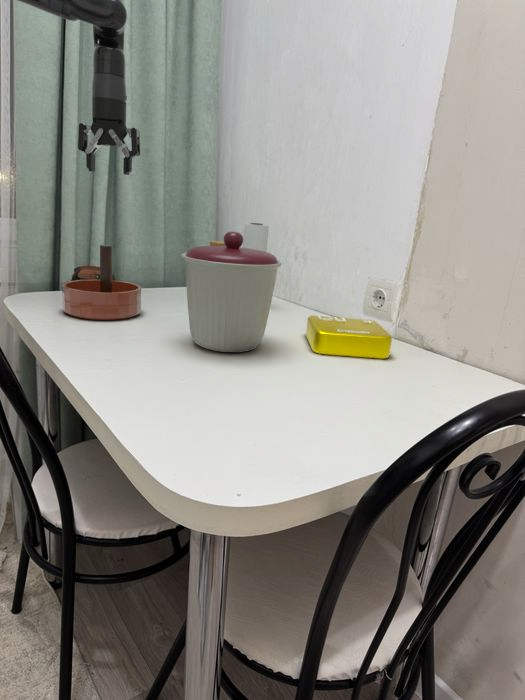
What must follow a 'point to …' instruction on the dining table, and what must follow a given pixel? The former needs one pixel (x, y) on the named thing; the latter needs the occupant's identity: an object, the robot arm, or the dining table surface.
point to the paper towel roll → (255, 236)
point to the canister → (229, 294)
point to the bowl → (101, 300)
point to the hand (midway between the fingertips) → (109, 173)
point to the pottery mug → (87, 273)
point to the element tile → (348, 337)
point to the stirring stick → (105, 268)
